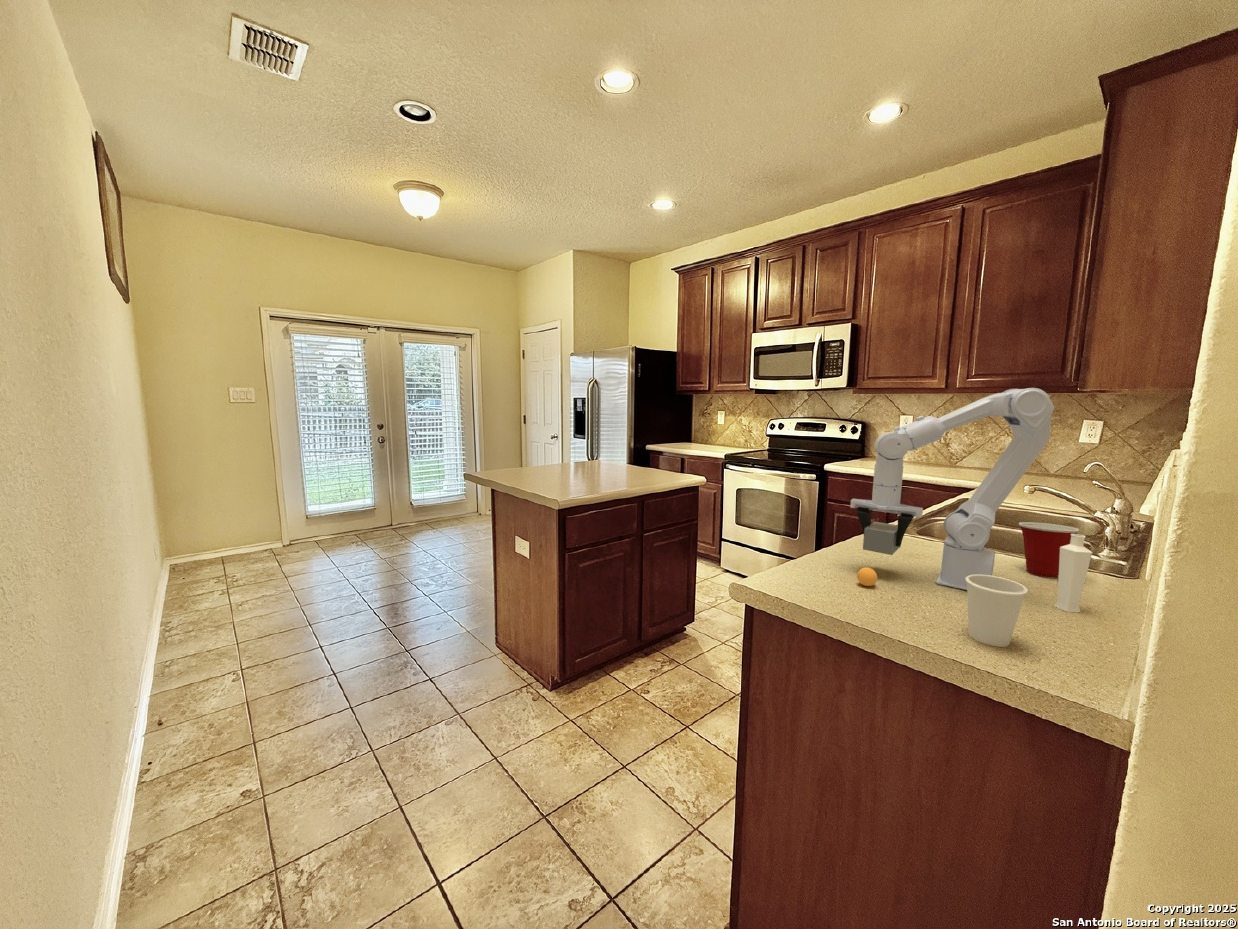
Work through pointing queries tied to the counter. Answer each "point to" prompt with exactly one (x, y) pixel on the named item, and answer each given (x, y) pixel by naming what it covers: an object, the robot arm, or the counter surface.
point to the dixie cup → (993, 608)
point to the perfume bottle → (1072, 573)
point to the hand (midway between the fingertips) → (882, 542)
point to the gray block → (881, 538)
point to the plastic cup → (1044, 546)
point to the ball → (867, 576)
